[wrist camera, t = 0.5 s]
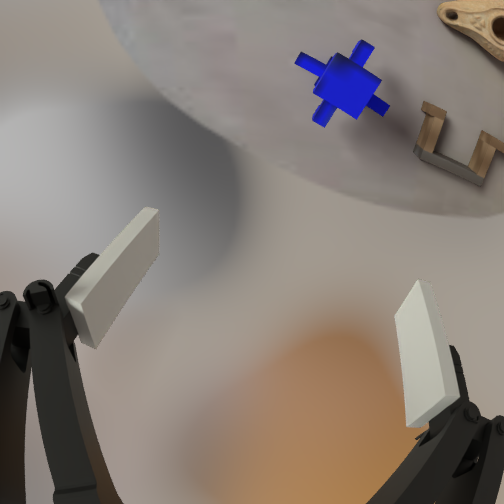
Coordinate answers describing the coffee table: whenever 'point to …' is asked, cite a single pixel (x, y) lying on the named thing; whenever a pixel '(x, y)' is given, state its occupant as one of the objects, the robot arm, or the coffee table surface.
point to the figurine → (344, 84)
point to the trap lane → (426, 153)
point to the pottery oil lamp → (477, 22)
